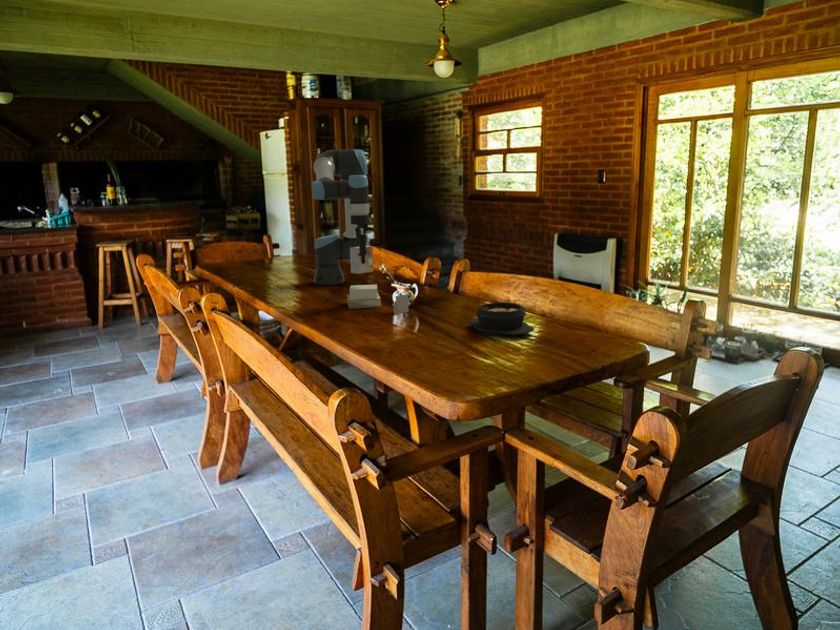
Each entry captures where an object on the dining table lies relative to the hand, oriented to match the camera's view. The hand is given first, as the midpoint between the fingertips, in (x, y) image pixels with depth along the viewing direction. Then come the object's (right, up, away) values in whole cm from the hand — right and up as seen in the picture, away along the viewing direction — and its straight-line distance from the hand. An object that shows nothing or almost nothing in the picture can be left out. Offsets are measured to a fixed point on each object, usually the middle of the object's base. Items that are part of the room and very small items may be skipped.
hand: (362, 269), depth 246 cm
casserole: (+51, -24, -41) cm, 70 cm away
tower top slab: (0, -11, +2) cm, 11 cm away
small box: (0, -1, 0) cm, 1 cm away
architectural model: (+16, -18, -11) cm, 27 cm away
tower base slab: (0, -15, +3) cm, 15 cm away
